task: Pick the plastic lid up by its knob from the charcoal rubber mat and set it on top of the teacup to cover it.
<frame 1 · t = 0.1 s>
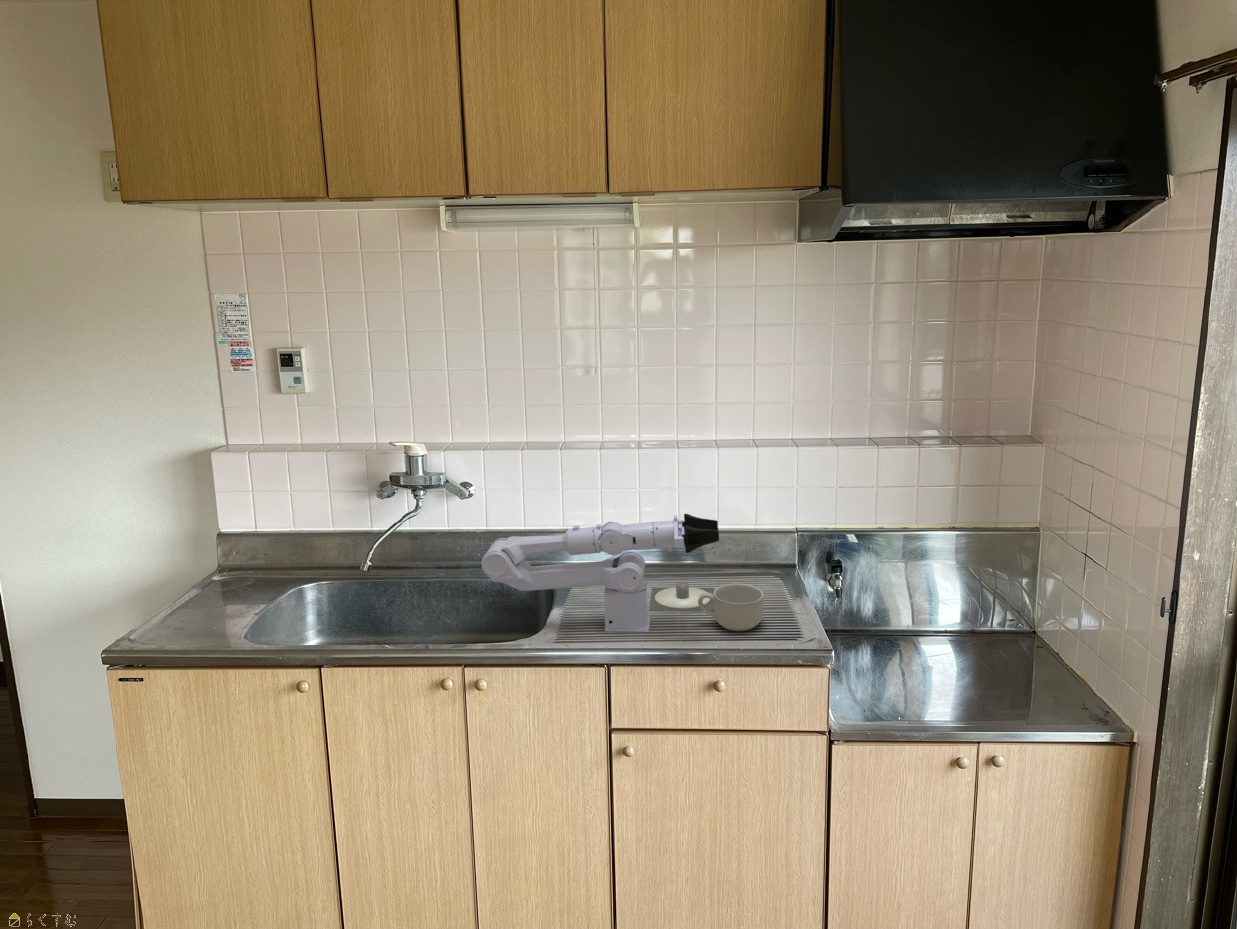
hand: (718, 530, 195), 22 cm above the counter, tool horizontal, fingers open, 7 cm apart
mat: (682, 600, 215), on the counter
lid: (682, 599, 215), resting on mat
teacup: (731, 627, 199), on the counter
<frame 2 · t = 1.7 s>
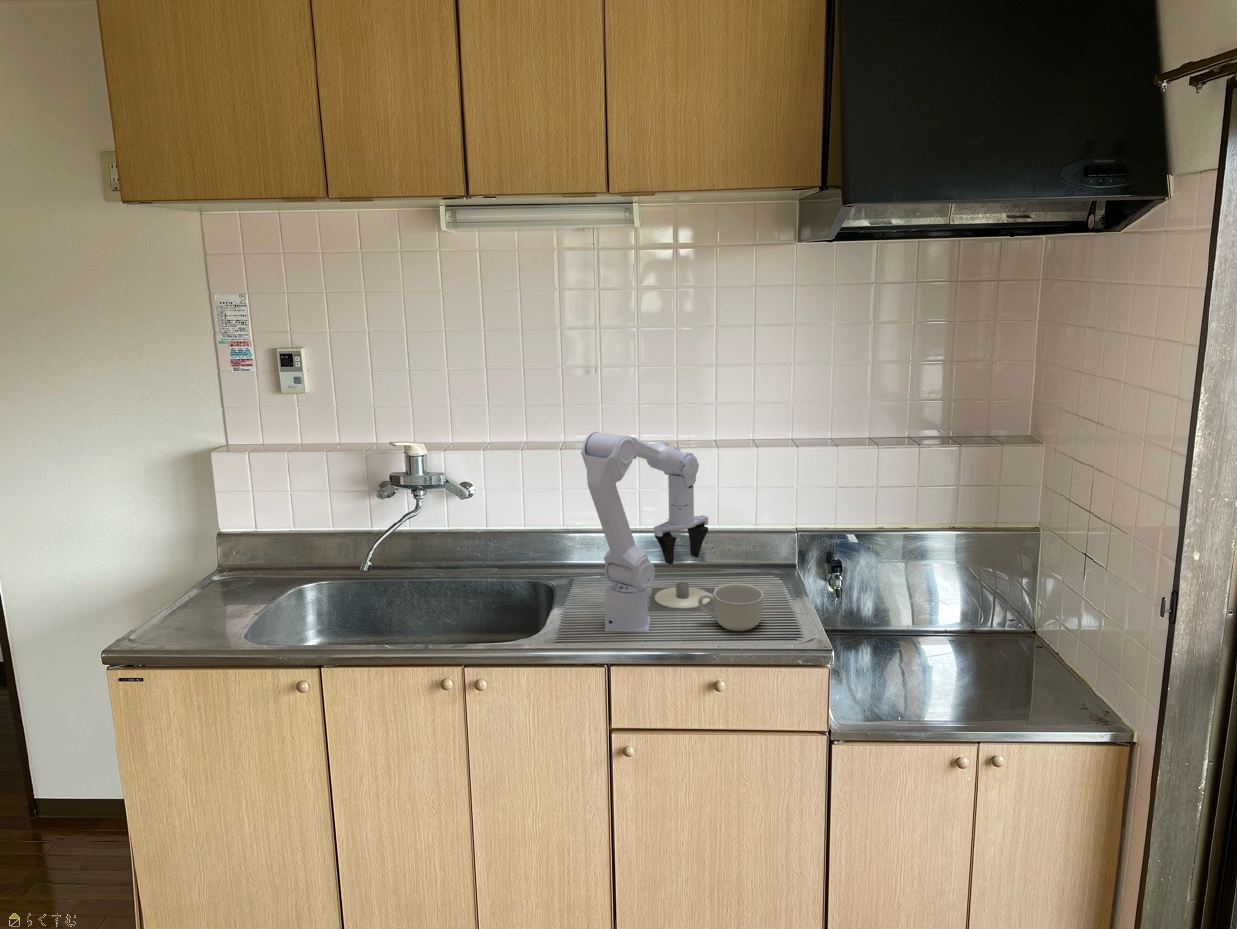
hand: (682, 559, 213), 10 cm above the counter, tool pointing down, fingers open, 7 cm apart
nothing on the counter moved.
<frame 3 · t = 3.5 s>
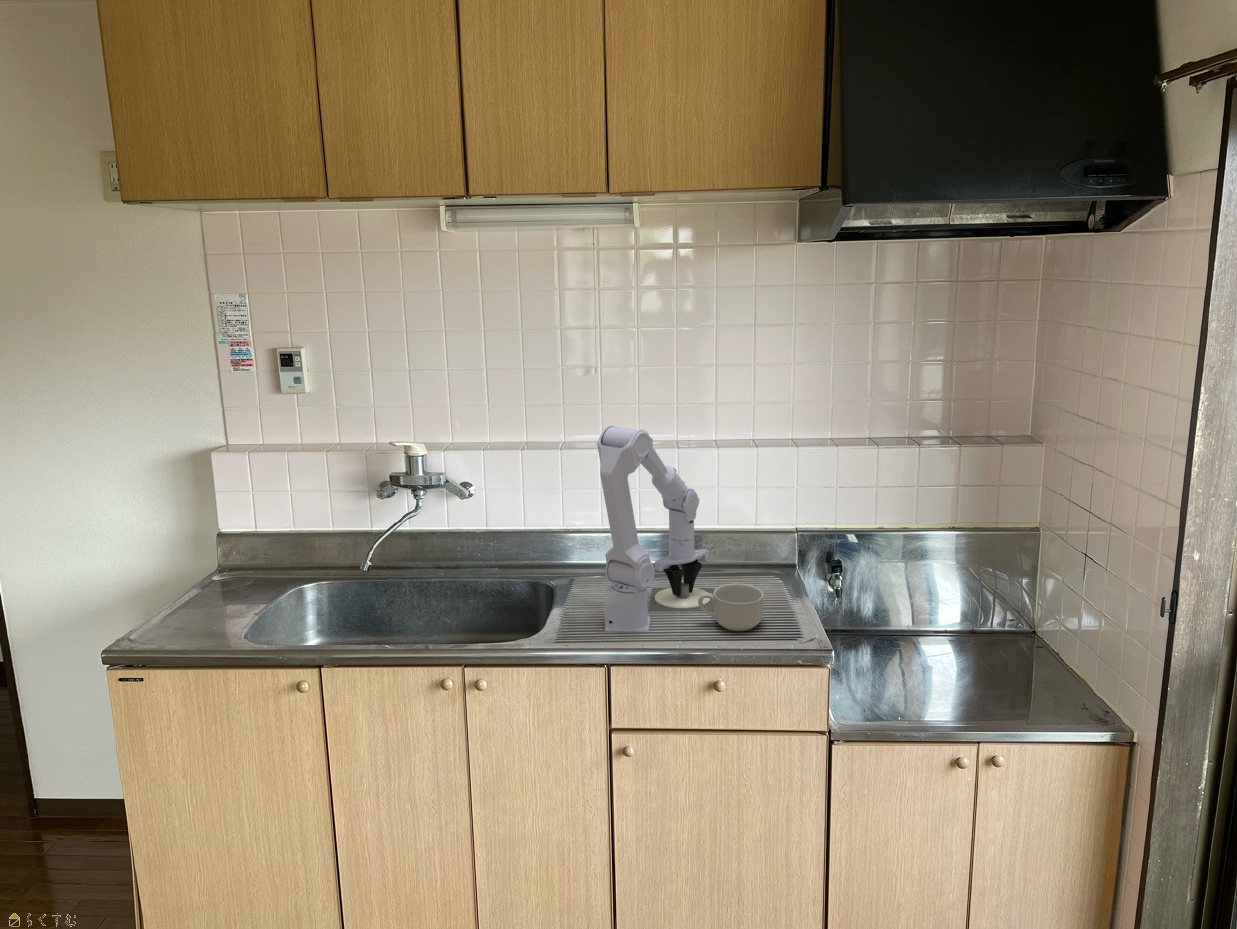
hand: (682, 593, 214), 2 cm above the counter, tool pointing down, fingers closed on lid, 3 cm apart
lid: (682, 599, 215), resting on mat, touching gripper
everything else where it was.
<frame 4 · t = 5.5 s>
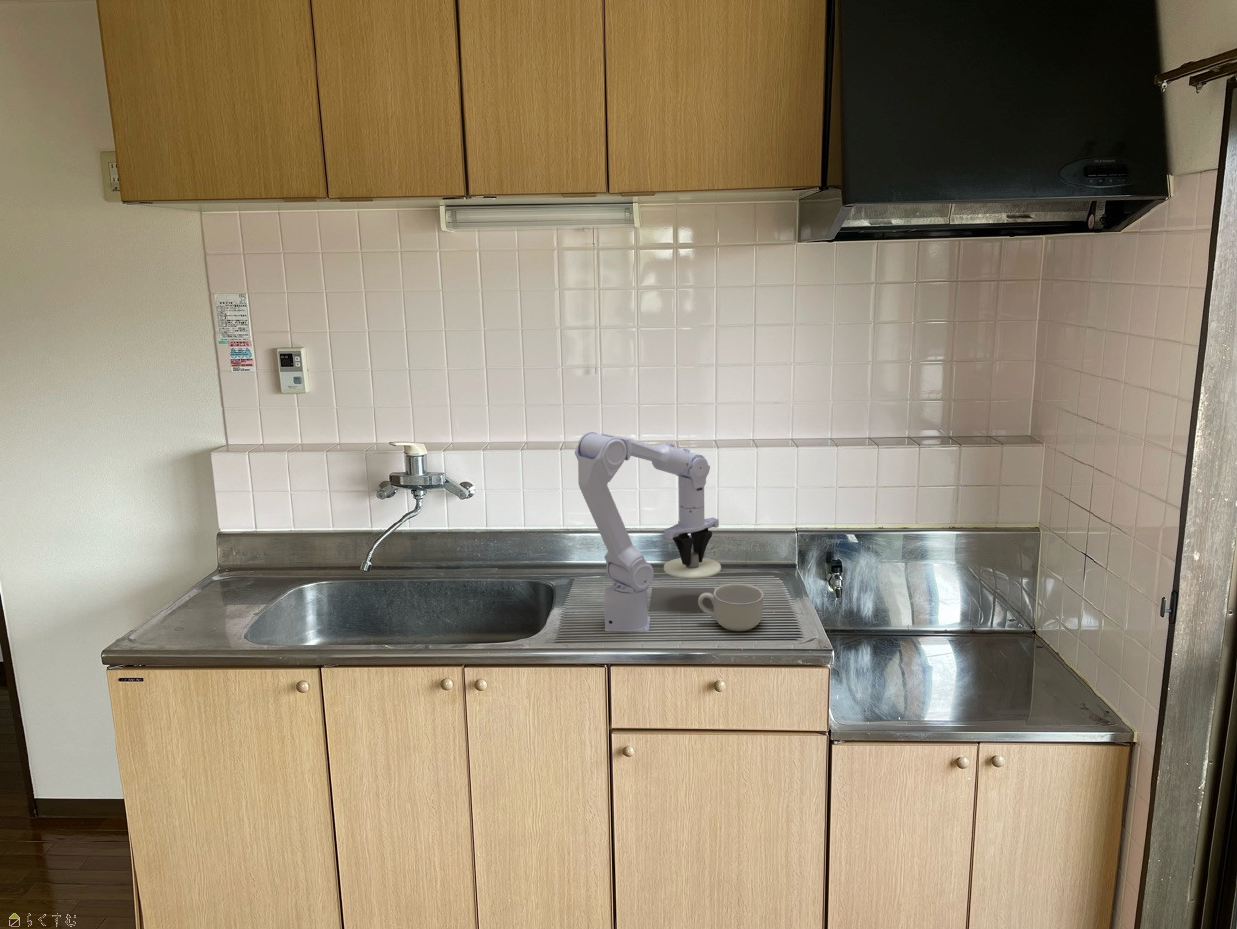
hand: (692, 562, 209), 10 cm above the counter, tool pointing down, fingers closed on lid, 3 cm apart
lid: (692, 568, 210), point 9 cm above the counter, touching gripper
everything else where it was.
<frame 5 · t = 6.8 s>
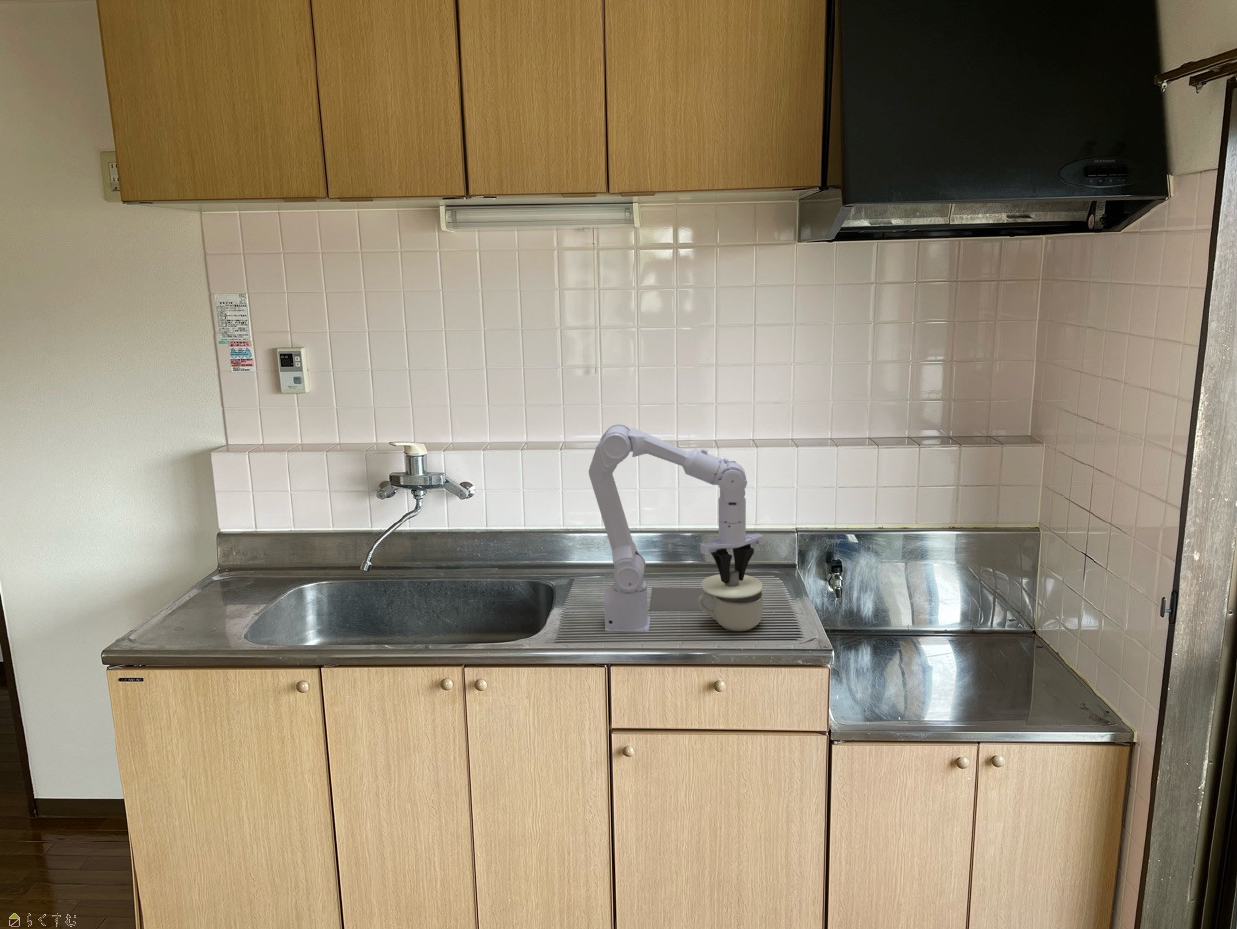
hand: (732, 580, 197), 10 cm above the counter, tool pointing down, fingers closed on lid, 3 cm apart
lid: (731, 586, 197), point 9 cm above the counter, touching gripper
everything else where it was.
when the fingers open (10 cm above the counter, at t = 7.7 s): lid drops 1 cm, resting on teacup.
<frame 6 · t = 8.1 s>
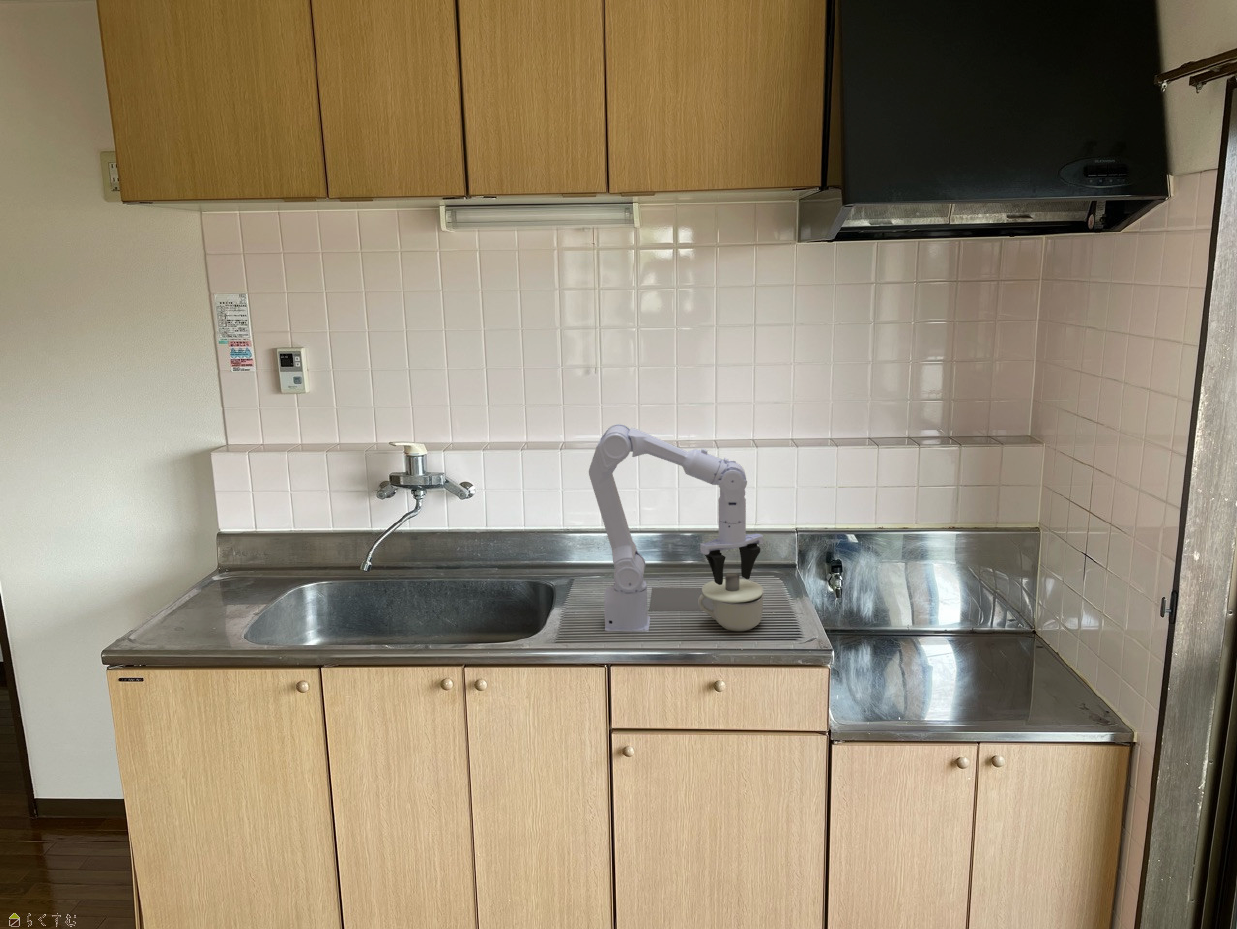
hand: (732, 580, 197), 10 cm above the counter, tool pointing down, fingers open, 6 cm apart
lid: (732, 591, 198), point 8 cm above the counter, touching teacup
teacup: (731, 627, 199), on the counter, touching lid
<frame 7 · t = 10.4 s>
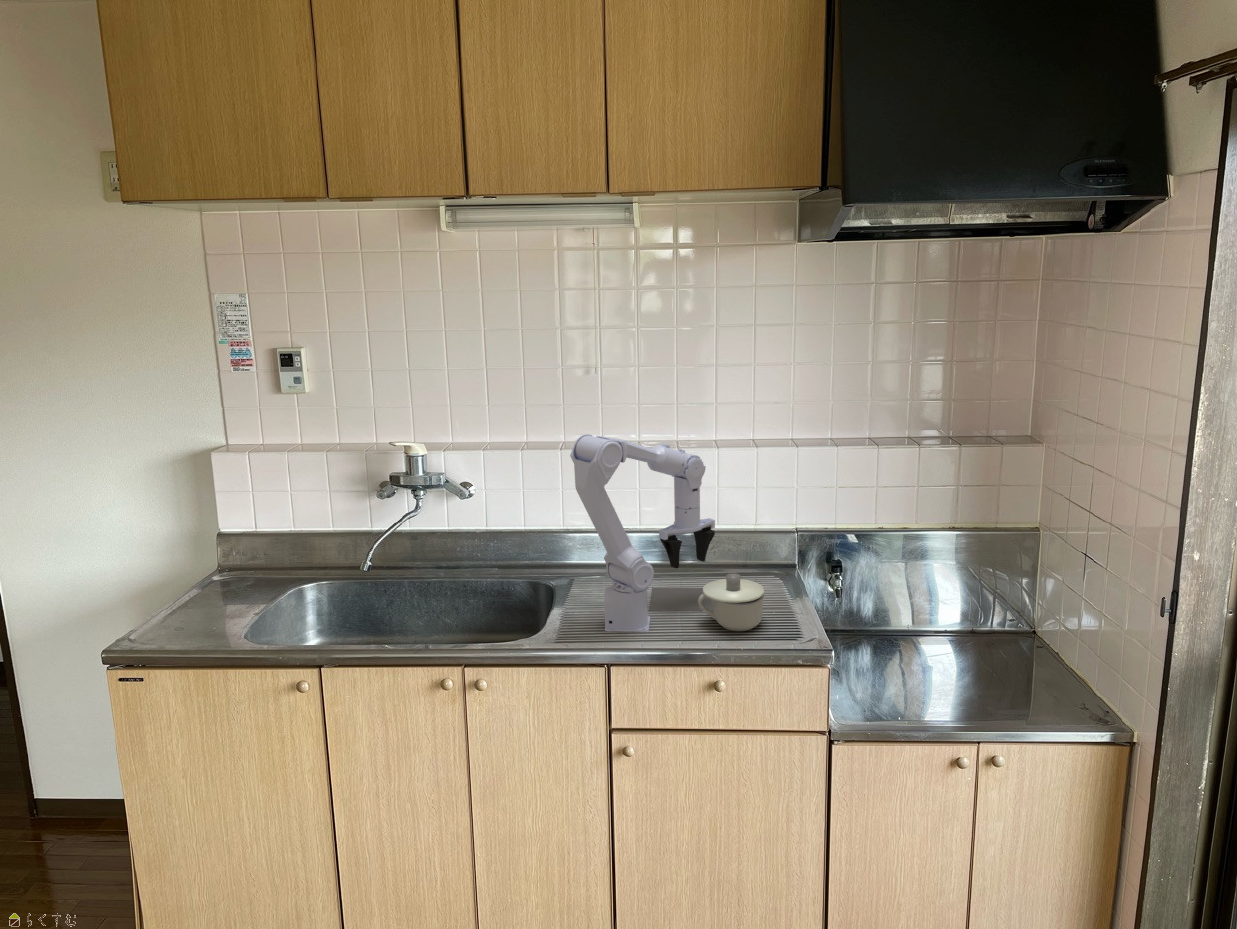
hand: (687, 563, 209), 10 cm above the counter, tool pointing down, fingers open, 7 cm apart
nothing on the counter moved.
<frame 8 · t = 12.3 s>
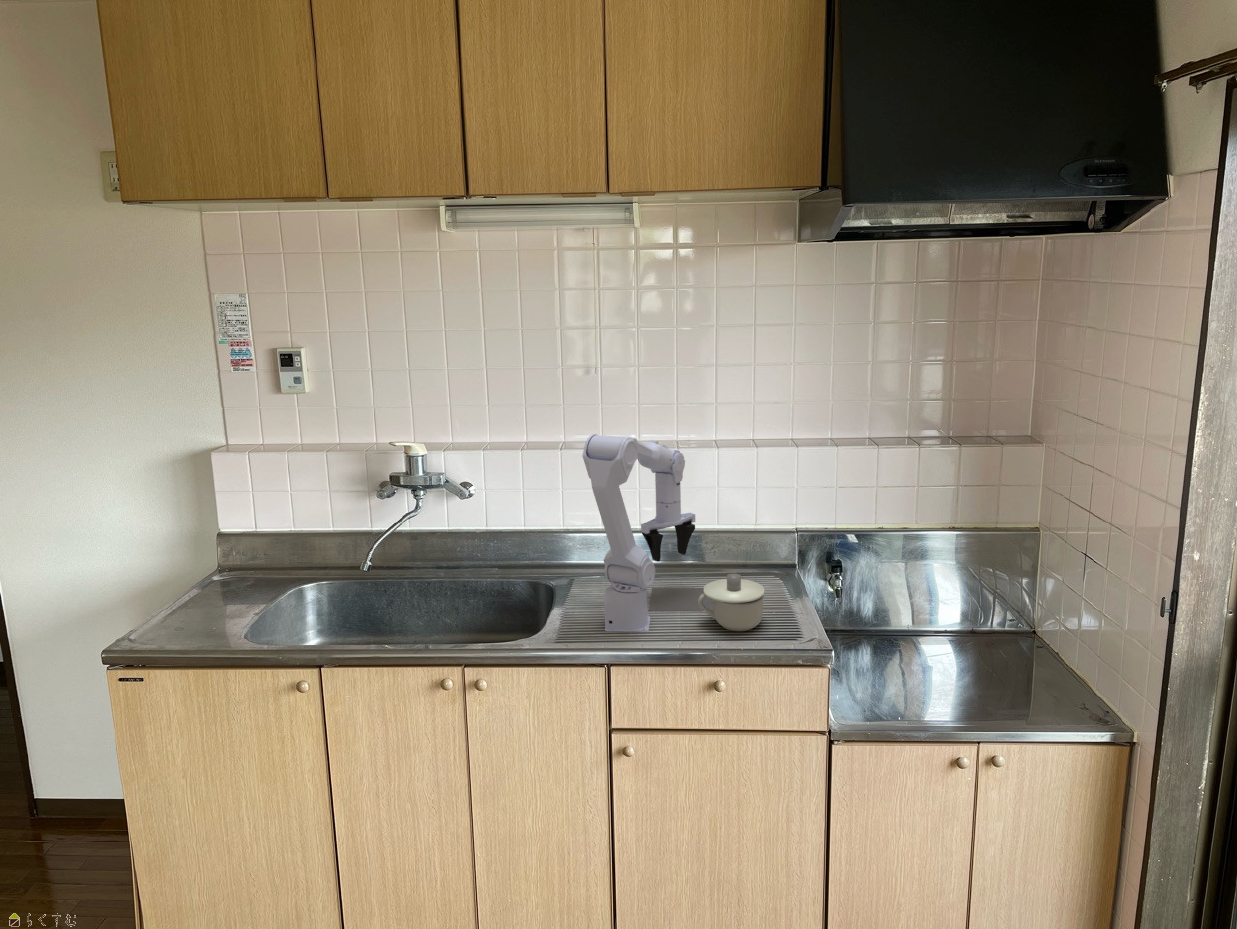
hand: (669, 556, 214), 10 cm above the counter, tool pointing down, fingers open, 7 cm apart
nothing on the counter moved.
at the end: lid 0.6 cm from the teacup (horizontally); lid point 7.9 cm above the counter; the gripper is holding nothing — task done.
